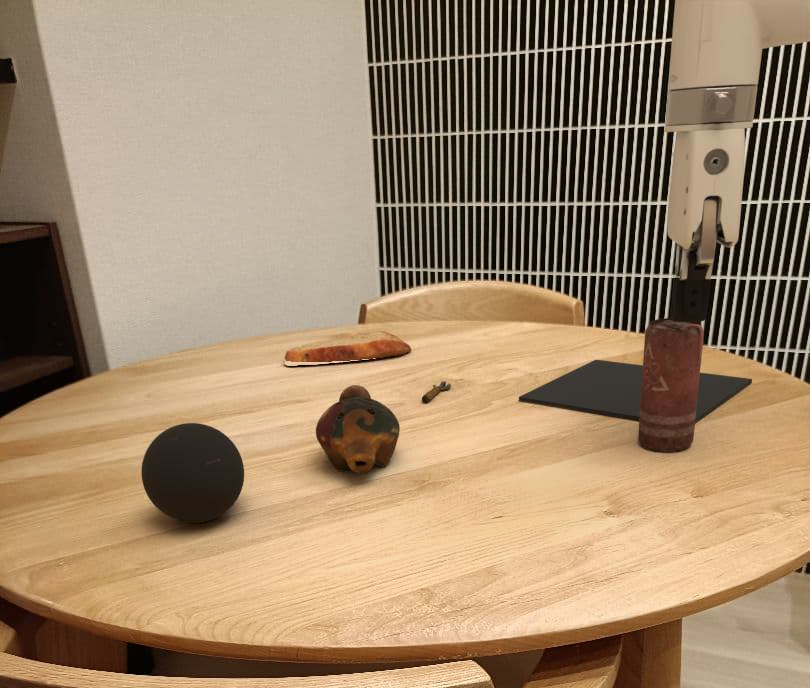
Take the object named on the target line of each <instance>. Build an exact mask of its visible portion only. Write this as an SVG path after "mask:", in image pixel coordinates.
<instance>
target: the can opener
mask: <svg viewBox="0 0 810 688" xmlns="http://www.w3.org/2000/svg"><path fill="white" fill-rule="evenodd" d="M446 384H447V381H444V380H442V381H440V384H439V385H437V384H433V385H432V389H430V390H429V391H427V392H425V393H424V394H423V396H422V397H421V402H422V403H424V404H427V403H429V402H430V401H431V400H433V399H434V397H435V396H436V395H438V394H439V393H440V391H441V390H448V389H451V388H452V384H451V383H448V384H447V385H446Z"/></svg>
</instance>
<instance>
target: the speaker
mask: <svg viewBox="0 0 810 688" xmlns="http://www.w3.org/2000/svg"><path fill="white" fill-rule="evenodd" d="M243 461H244V460H243V458H242V456H241V453H240V451H239V449H238V447H237V446H236V444H235V443H234V442H233V441H232V440H231V438H230V437H229V436H227V434H225V433H223V432H222V431H221V430H219V429H218V428H215V427H213V426H211V425H207V424H204V423H198V422H187V423H186V422H185V423H180V424H176V425H173V426H171V427H168V428H167V429H165V430H163V431H162V432H161V433H159V434H157V436H156V437H155V438H154V439H153V440H152V441H151V442H150V444H149V445H148V447H147V448H146V450H145V453H144V455H143V458H142V463H141V480H142V486H143V489H144V491H145V494H146V495H147V497H148V499H149V501H150V502H151V503H152V505H154V507H155V508H156V509H157V510H158V511H160V512H161V513H162V514H164V515H165V516H167V517H168V518H171V519H173V520H175V521H177V522H182V523H188V524H189V523H190V524H199V522H201V523H205V521H206V522H209V520H210V521H213V520H215V519H217V518H219V517H221V516H222V515H224V514H226V512H228V511H229V510H230V509H231V508H232V507H233V506H234V505H235V504H236V502H237V500H238V499H239V497H240V495H241V492H242V490H243V487H244V483H245V465H244V462H243ZM212 519H213V520H212Z"/></svg>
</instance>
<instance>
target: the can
mask: <svg viewBox="0 0 810 688" xmlns="http://www.w3.org/2000/svg"><path fill="white" fill-rule="evenodd" d="M704 336H705V331H704V329H703V326H702V321H689V322H676V321H674V320H673V319H672V317H665V318H658V319H653V320H651V321H650V322H648V325H647V327H646V328H645V330H644V343H643V345H644V346H643V359H642V360H643V361H642V365H643V372H642V387H641V402H640V417H639V421H638V433H637V441H638V442H639V444H640V446H641V447H643V448H644V449H646V450H648V451H652V452H657V453H678V452H683V451H685V450H687V449H688V448H690V447H691V445H692V444H693V442H694V437H695V429H696V428H695V426H696V423H695V418H696V408H697V398H698V387H699V377H700V373H701V366H702V365H701V364H702V356H703V348H704Z"/></svg>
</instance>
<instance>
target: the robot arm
mask: <svg viewBox="0 0 810 688" xmlns="http://www.w3.org/2000/svg"><path fill="white" fill-rule="evenodd" d="M671 35H672V36H671V48H670V60H669V70H668V71H669V73H668V82H667V84H668V85H667V96H666V108H665V111H666V112H665V120H664V133H675V140H674V147H673V148H674V149H673V153H672V164H671V174H670V183H669V195H668V207H667V225H666V230H667V236H668V238H669V239H670V240H672V241H673V242H675V243H676V252H675V254H676V255H675V270H674V275H675V277H673V283H672V285H673V286H672V295H671V305H670V318H672V319H673V320H674V321H676V322H689V321H700V322H704V321H707V318H708V310H709V302H710V293H711V284H712V276H713V275H712V274H713V268H714V262H715V254H716V247H717V244H719V245H722V247H725V248H727V249H728V248H729V249H731V248H733V247H734V246H735V245H736V244H737V243H738V242H739V236H740V224H741V215H742V214H741V212H742V201H743V188H744V175H745V157H746V156H745V155H746V135H745V133H746V129H752V128H753V126H754V117H755V109H756V102H757V96H758V95H757V93H758V85H759V78H760V70H761V61H762V54H763V50H764V49H769V48H775V47H781V46H789V45H797V44H802V43H803V44H804V43H808V42H809V43H810V0H674V11H673V23H672V34H671Z"/></svg>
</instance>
